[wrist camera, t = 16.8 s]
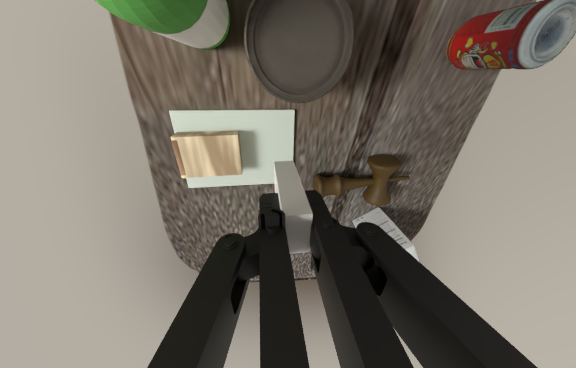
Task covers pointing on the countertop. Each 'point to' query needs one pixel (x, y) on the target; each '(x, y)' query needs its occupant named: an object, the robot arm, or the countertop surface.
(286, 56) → the coffee can
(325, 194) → the kendama
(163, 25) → the wine bottle
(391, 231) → the supplement box
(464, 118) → the countertop surface
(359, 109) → the countertop surface
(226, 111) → the rubber mat
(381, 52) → the countertop surface
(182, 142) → the maple slab
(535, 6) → the soda can
